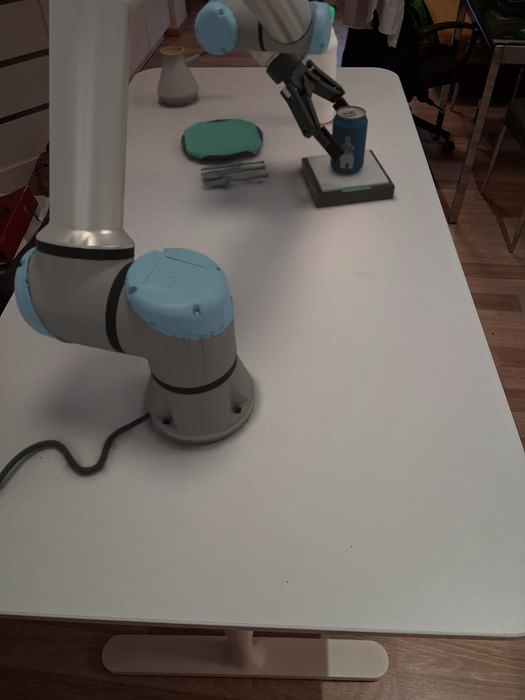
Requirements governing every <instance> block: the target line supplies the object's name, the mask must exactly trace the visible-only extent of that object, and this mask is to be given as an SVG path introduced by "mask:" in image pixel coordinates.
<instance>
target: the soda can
mask: <svg viewBox="0 0 525 700" xmlns="http://www.w3.org/2000/svg"><path fill="white" fill-rule="evenodd" d="M335 112H336V111H335ZM368 126H369V119H368V117H367V111H366V109H364V108H363V107H361V106H356V105H350V106H344V107H341V108H339V109H338V110H337V112H336V113H335V114H334V116H333V119H332V129H331V135H332V136H333V137H334V138H335V139H336V141H337V142H338V143H339V144H340V145H341V147H342V148H343V149H344V150H345V153H344V154H343V155H342V156H340V157H339V158H338V159H337V160H335V161H334V160H333V159H332V158H331V159H330V164H331V166H332V168H333V170H334V171H335V172H336V173H338V174H340V175H353V174H356V173H358V172H359V170H360V169H361V168H362V166H363V164H364V155H365V150H366V143H367V135H368Z"/></svg>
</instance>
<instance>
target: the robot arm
mask: <svg viewBox="0 0 525 700" xmlns="http://www.w3.org/2000/svg"><path fill="white" fill-rule="evenodd" d="M143 1H144V0H48V17H49V18H48V39H49V40H48V55H49V56H48V61H49V62H48V64H49V65H48V71H49V72H48V74H49V75H48V80H49V81H48V84H49V85H48V89H49V91H48V92H49V94H48V95H49V96H48V97H49V98H48V99H49V100H48V103H49V104H48V105H49V106H48V108H49V111H48V112H49V113H48V114H49V117H48V119H49V120H48V121H49V122H48V123H49V126H48V129H49V142H48V143H49V149H48V150H49V157H48V159H49V162H48V163H49V165H48V166H49V221H48V224H46V225H45V226H44V227H43V228H42V229H41V230H40V231H39V232H37V233H36V234H35V235H36V236H35V246H34V247H32V248H30V249H28V250H27V251H26V252H25V253H24V255H22V257H21V259H20V265H21V266H18V267H17V268H16V271H15V275H14V285H13V286H14V297H15V302H16V305H17V309H18V311H19V314H20V315H21V317H22V319H23V320H24V322H25V323H26V324H27V325H28V326H29V327H31V328H32V330H33V331H35V333H38V334H40V335H41V336H44V337H48V338H51V339H55V340H57V341H58V342H60V343H65V344H71V345H72V344H75V345H80V346H85V347H90V348H95V349H100V350H105V351H109V352H114V353H119V354H123V355H124V354H125V355H129V356H133V357H138V358H142V359H145V360H146V362H147V364H148V367H149V371H150V372H149V378H148V383H147V390H146V394H145V395H146V396H145V405H146V409H147V412H146V413H144V414H143V415H141V416H139V417H138V418H136V419H134V420H132V421H130V422H129V423H127V424H125V425H123V426H121V427H118V428H117V429H115V430H114V431H113V432H112V433H111V434H110V435H109V436H107V438H106V440H105V442H104V444H103V446H102V449H101V453H100V456H99V459H98V461H97V462H96V463H95V464H94V465H91V466H82V465H80V464H79V463H78V462H77V461H76V460H75V458H74V457H73V455H72V453H71V452H70V450H69V449H68V448H67V447H66V446H65V444H64V443H62V442H61V441H59V440H56V439H47V440H42V441H38V442H36V443H32V444H31V445H29V446H27V447H25V448H23V449H22V450H21V451H19V452H18V453H17V454H16V455H15V456H14V457H12V458H11V460H10V461H9V462H8V463H7V464H6V465H5V466H4V468H3V469H2V470H1V471H0V485H1V484H2V482H3V481H4V480H5V478H6V477H7V476H8V474H9V473H10V472H11V471H12V469H13V468H14V467H15V466H16V465H17V464H18V463H19V462H20V461H21V460H22V459H23V458H25V457H26V456H27V455H29V454H31V453H32V452H34V451H37V450H39V449H41V448H46V447H54V448H57V449H58V450H60V452H61V453H62V454H63V456H64V458H65V459H66V461H67V462H68V464H69V465H70V467H71V468H72V469H73V470H74V471H75V472H78V473H79V474H83V475H88V474H93V473H95V472H97V471H99V470H100V469H101V468H102V467H103V466H104V464H105V462H106V460H107V457H108V454H109V450H110V447H111V445H112V443H113V442H114V441H115V439H116V438H118V437H119V436H120V435H122V434H124V433H126V432H128V431H130V430H132V429H134V428H135V427H137V426H140V425H141V424H142V423H144V422H146V421H147V420H151V422H152V424H153V426H154V427H155V428H156V429H157V431H159V433H161V434H162V435H163V436H165V437H166V438H168V439H170V440H172V441H173V442H178V443H181V444H186V445H205V444H210V443H215V442H218V441H221V440H223V439H225V438H227V437H229V436H230V435H233V434H234V433H235V432H236V431H238V430H239V429H240V428H241V427H243V425H244V424H245V423H246V421H247V420H248V418H249V416H251V414H252V411H253V408H254V405H255V404H254V403H255V389H254V383H253V382H254V381H253V379H252V376H251V374H250V373H249V370H248V369H247V368H246V366H245V364H244V363H243V361H242V360H241V358H240V357H239V355H238V350H237V339H236V329H235V328H236V327H235V318H234V300H233V296H232V294H231V290H230V285H229V281H228V278H227V276H226V274H225V272H224V271H223V270H222V267H220V265H219V264H218V263H217V262H216V261H215V260H213V259H212V258H211V257H209V256H207V255H205V254H203V253H201V252H199V251H195V250H193V249H189V248H184V247H183V248H182V247H165V248H163V251H158V250H157V249H155V250H151V251H149V252H147V253H144V254H143V255H141V256H139V257H138V258H136V259H135V252H136V251H135V249H136V248H135V247H136V242H135V240H134V239H133V238H132V237H131V236H130V235H129V234H128V233H127V232H126V230H125V228H124V219H125V218H124V216H125V196H126V195H125V193H126V192H125V191H126V169H127V168H126V167H127V166H126V165H127V142H128V141H127V139H128V117H129V116H128V112H129V90H130V89H129V88H130V66H131V65H130V63H131V61H130V60H131V36H132V35H131V34H132V12H133V11H134V9H135V8H136V7H138V5H140V4H141V3H142V2H143ZM331 26H332V27H333V22H332V12H331V8H330V5H329V3H328V2H321V1H317V0H313V1H311V0H310V1H309V0H208V2H207V3H206V4H205V5H204V6H203V8H201V9H200V10H199V11H198V12H197V14H196V17H195V21H194V34H195V37H196V39H197V42H198V43H199V45H200V47H201V48H202V49H203V51H204V50H206V51H207V52H208V54H211V55H213V56H222V55H226V54H228V53H230V52H232V51H234V50H235V51H248V52H249V53H250V54H251V56H252V59H254V60H256V62H257V63H258V64H259V65H260V67H263V68H264V67H266V69H265V73H266V74H267V76H269V78H270V79H271V80H272V81H273V83H275V85H280V84H281V83H283V84H284V85H285V86H284V87H282V89H281V90H280V91H279V94H280V96H281V97H282V99H283V100H284V101H285V102H286V104H287V106H288V108H289V110H290V112H291V114H292V116H293V118H294V120H295V122H296V124H297V126H298V128H299V130H300V132H301V134H302V136H303V137H304V138H306V139H310V138H312V137H313V138H314V139H315V141H316V142H318V144H319V145H320V146H321V147H322V149H324V151H325V152H326V153H327V155H328V154H329V155H330V157H331V158H332V159H333V160H334V161H335V160H337V159H338V158H339V157H340V156H342V155H343V154H344V153H345V150H344V149H343V148H342V147H341V145H340V144H339V143H338V142H337V141H336V139H335V138H334V137H333V136H332V132H330V131H329V129H328V128H327V127H326V126H325V125H322V124H320V122H319V119H318V117H317V114H316V111H315V108H314V105H313V102H312V100H311V97H312V93H314V94H316V95H318V96H320V97H322V98H324V99H325V100H327V101H329V102H331V103H333V104H334V105H333V106H332V107H333V108H334V112H337V110H338V109H339V108H341V107H344V106H351V105H350V104H349V103H348V101H346V99H345V98H344V95H346V91H345V89H344V87H343V86H342V85H341V84H339V82H337V81H336V80H335V81H334V80H333V79H332V78H331V77H329V76H328V75H327V74H326V73H324V72H323V71H322V70H321V69H319V68H318V67H317V66H316V65H315V64H314V63H313V61H312V60H311V59H309V60H308V61H307V60H306V61H305V62H304V63H303V61H304V59H305V58H306V56H307V57H308V55H321V54H323V53H324V52H325V51H326V50H327V48H328V45H329V41H330V35H331Z"/></svg>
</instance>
